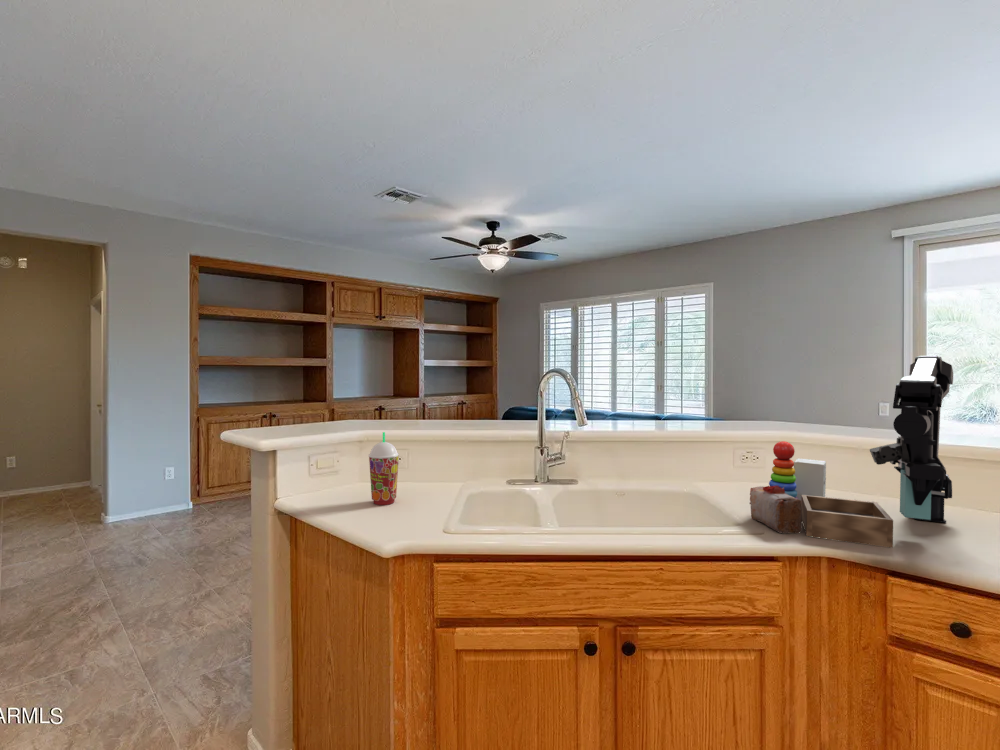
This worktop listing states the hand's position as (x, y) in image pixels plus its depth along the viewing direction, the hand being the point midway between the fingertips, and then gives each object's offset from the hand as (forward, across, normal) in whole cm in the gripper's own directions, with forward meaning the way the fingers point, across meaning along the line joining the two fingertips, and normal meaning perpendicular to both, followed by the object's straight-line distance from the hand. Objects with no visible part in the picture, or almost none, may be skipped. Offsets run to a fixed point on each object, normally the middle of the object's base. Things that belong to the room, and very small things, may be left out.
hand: (915, 502), depth 117 cm
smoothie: (+8, +31, -127) cm, 131 cm away
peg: (+3, 0, 0) cm, 3 cm away
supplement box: (+8, -20, -19) cm, 29 cm away
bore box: (+8, +2, -14) cm, 16 cm away
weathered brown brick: (+8, +3, -28) cm, 30 cm away
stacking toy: (+8, -12, -26) cm, 30 cm away
